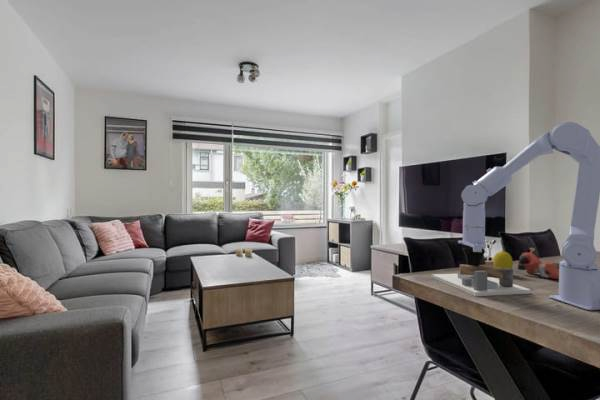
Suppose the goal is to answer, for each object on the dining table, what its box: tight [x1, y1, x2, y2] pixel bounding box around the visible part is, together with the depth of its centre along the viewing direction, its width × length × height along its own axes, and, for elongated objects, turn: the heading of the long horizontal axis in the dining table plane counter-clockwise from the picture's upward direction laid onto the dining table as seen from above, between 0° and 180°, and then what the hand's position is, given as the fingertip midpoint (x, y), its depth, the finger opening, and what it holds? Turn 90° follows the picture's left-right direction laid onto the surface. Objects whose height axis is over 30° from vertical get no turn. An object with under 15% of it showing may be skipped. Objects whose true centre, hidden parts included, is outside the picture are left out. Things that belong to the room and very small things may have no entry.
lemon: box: [492, 250, 514, 269], centre depth 106 cm, size 6×6×8 cm
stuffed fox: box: [517, 247, 559, 280], centre depth 104 cm, size 8×11×12 cm
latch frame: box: [431, 271, 532, 297], centre depth 92 cm, size 19×17×6 cm
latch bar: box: [459, 263, 514, 287], centre depth 90 cm, size 13×3×4 cm, turn 67°
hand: (472, 272), depth 93 cm, fingers closed, pressing on latch bar
